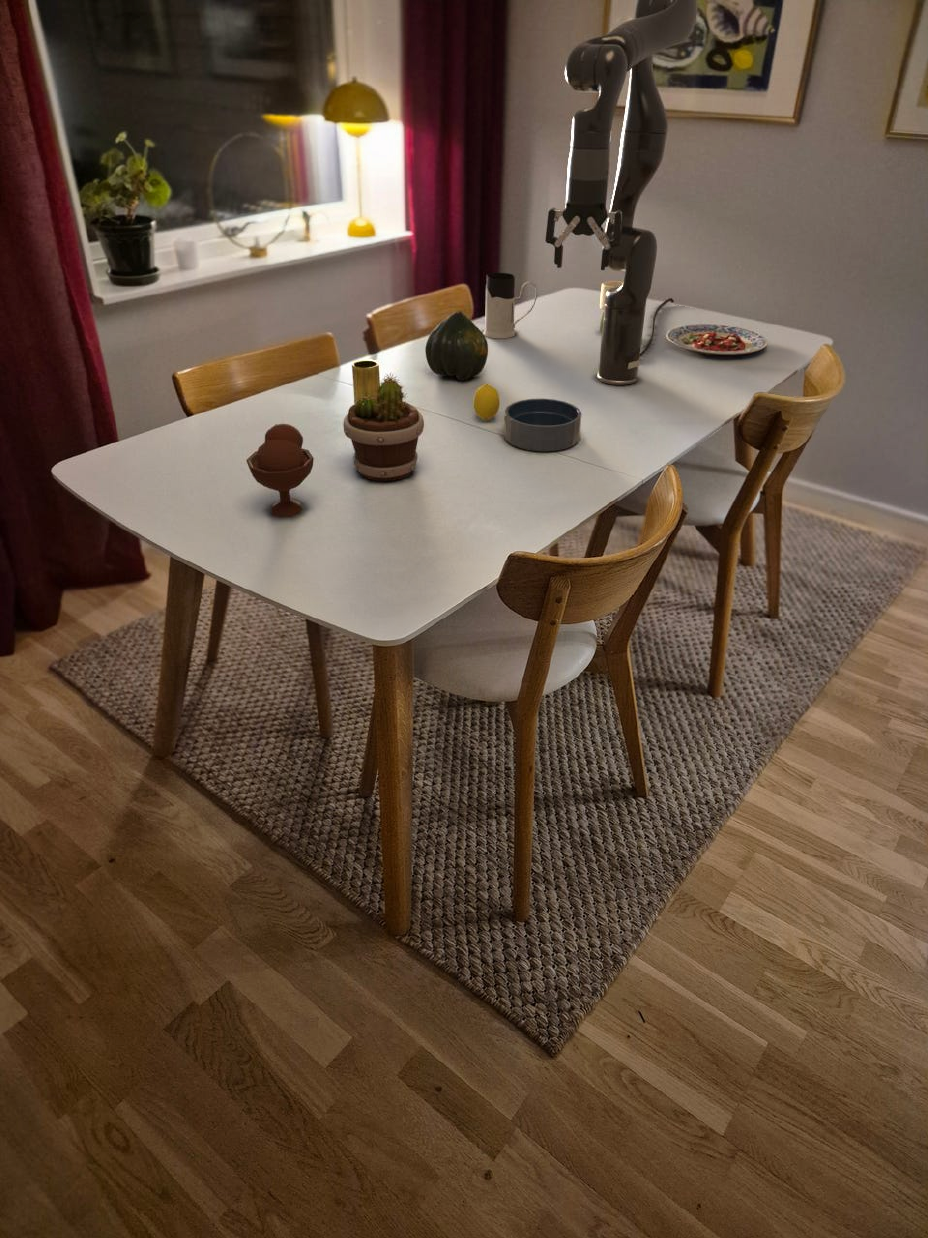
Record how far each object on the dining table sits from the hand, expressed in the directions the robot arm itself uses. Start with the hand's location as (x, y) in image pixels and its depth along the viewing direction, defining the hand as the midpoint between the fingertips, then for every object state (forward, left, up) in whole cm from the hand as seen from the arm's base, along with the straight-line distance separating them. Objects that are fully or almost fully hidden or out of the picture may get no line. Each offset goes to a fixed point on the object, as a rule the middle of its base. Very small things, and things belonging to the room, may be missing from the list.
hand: (580, 268), depth 164 cm
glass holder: (-56, -24, -30) cm, 68 cm away
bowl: (+14, -4, -30) cm, 33 cm away
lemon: (+7, -17, -30) cm, 35 cm away
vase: (+19, -39, -30) cm, 53 cm away
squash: (-20, -30, -30) cm, 47 cm away
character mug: (-63, +3, -30) cm, 70 cm away
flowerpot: (+36, -30, -30) cm, 56 cm away
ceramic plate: (-58, +31, -30) cm, 72 cm away
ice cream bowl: (+55, -42, -30) cm, 76 cm away
